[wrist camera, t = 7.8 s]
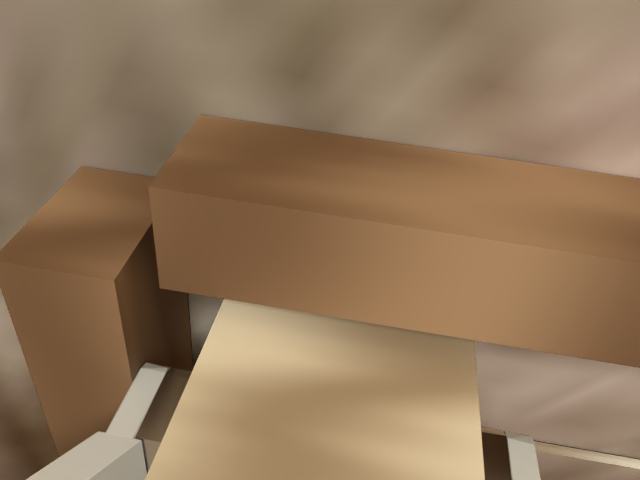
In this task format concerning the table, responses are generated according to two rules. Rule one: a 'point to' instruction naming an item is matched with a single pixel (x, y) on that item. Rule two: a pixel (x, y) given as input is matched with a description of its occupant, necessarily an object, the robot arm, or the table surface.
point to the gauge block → (323, 402)
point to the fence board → (317, 257)
